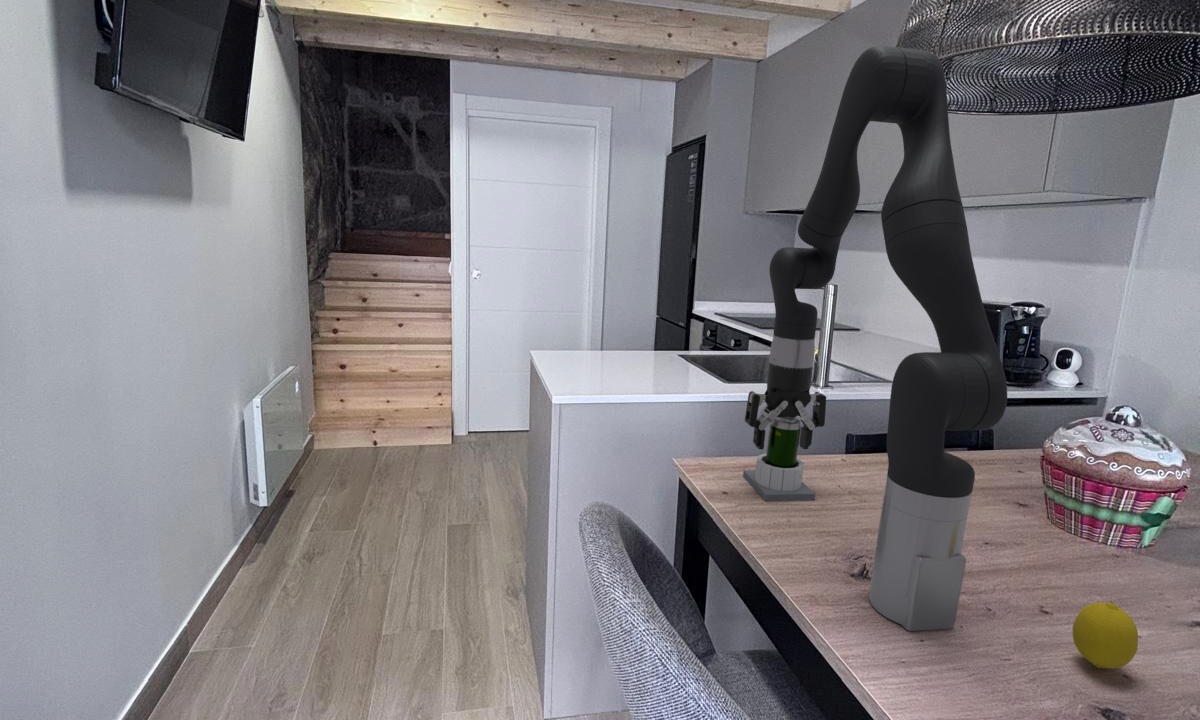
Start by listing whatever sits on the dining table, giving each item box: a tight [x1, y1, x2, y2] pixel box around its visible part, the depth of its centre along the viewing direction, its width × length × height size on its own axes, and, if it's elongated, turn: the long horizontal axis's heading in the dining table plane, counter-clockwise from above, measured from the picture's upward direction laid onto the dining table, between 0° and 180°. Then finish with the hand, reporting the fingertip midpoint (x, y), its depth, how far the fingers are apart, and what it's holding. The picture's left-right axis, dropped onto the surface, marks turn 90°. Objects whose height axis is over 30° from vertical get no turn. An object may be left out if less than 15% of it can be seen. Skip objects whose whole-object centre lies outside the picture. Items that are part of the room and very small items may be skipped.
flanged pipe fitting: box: [742, 452, 816, 502], centre depth 113 cm, size 11×9×5 cm
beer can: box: [765, 417, 802, 468], centre depth 112 cm, size 5×5×12 cm
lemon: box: [1072, 601, 1139, 669], centre depth 68 cm, size 6×6×8 cm
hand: (781, 447), depth 112 cm, fingers open, 8 cm apart
